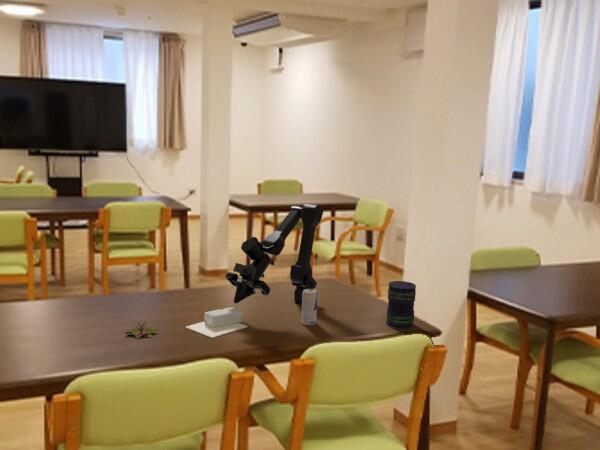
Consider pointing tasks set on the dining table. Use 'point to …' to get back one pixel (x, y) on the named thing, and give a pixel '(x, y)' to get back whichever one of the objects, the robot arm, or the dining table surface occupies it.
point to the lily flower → (141, 330)
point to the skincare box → (223, 317)
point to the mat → (215, 329)
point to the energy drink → (309, 307)
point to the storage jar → (401, 304)
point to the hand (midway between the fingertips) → (234, 302)
